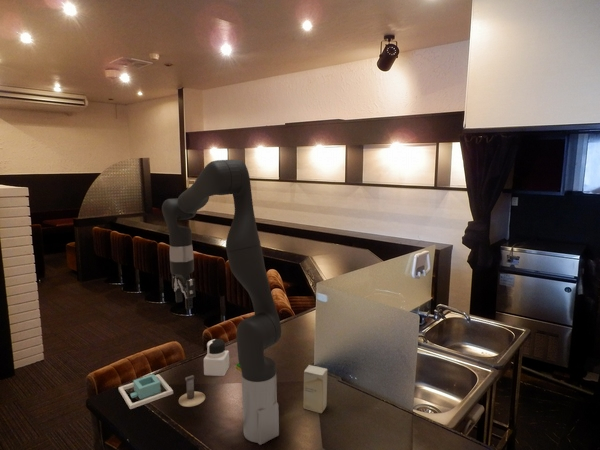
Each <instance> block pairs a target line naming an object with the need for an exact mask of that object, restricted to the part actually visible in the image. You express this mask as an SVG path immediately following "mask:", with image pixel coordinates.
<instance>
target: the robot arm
mask: <svg viewBox="0 0 600 450" xmlns="http://www.w3.org/2000/svg"><path fill="white" fill-rule="evenodd" d="M251 184H252V183H251V179H250V173H249V169H248V167H247V165H246V163H245V162H244V161H243V160H240V159H218V160H213V161H210V162H209V163H207V164H206V165H205V166H204V168H203V169H202V170H201V172H200V173H199V175H198V176H197V177H196V179H195V181H194V182H193V183H192V185H190V186H189V187H187V189H185V190H184V191H183V192H182V193H181V194H180V195H178V198H176V197H175V198H167V199H166V200H164V201H163V203H162V205H161V213H162V216H163V219H164V222H165V223H166V227H167V232H168V234H169V235H168V237H169V266H170V267H169V268H170V274H171V288H172V290H173V291H174V293H175V302H176V303H182V302H183V300H184V299H183V295H184V298H185V300H184V304H185V309H186V310H191V309H193V307H194V304H193V302H194V301H193V300H194V299H193V298H196V296H197V294H196V282H195V281H196V280H195V278H191V276H190V275H191V273H193V272H194V271H195V264H194V263H195V262H194V250H193V249H194V248H193V239H192V238H193V237H192V236H193V235H192V229H191V228H190V227H188V226H185V225H184V226H183V225H179V224H178V221H180V220H190V219H192V218H194V217H195V216H196V215H197V212H198V211H199V210H201V209H202V208H204V207H205V206H206V205H207V204H208V202H209V200H210V197H213V196H228V195H232V198H233V205H234V214H233V218H232V222H231V226H230V227H229V230H228V233H227V238H226V241H225V250H226V255H227V261H228V265H229V268H230V271H231V273H232V274H233V276H234V277H235V279H236V280H237V281H238V282H239V283H240V284H241V286H242V287H243V288H244V289H245V290H246V291H247V293H248V295H249V297H250V300H251V303H252V307H253V313H254V314H253V315H252V316H250V317H247V318H246V317H245V318H244V319H243V320H241V321H240V322H239V323H238V325H237V326H236V327H237V328H236V347H237V359H238V363H239V364H240V367H241V370H242V372H241V387H242V388H241V392H242V393H241V395H242V397H241V398H242V423H243V425H242V428H243V436H244V438H245V439H246V440H247V441H249V442H252V443H257V444H258V445H259V446H262V444H266V443H267V442H268V441H270V440H272V439H275V438H276V437H279V436H280V426H279V424H280V420H279V419H280V418H279V416H280V415H279V414H280V413H279V409H280V408H279V402H278V400H277V394H278V393H277V364H276V362H275V360H274V359H273V358H272V357H269V356H266V355H265V353H264V350H266V349H268V348H270V347H272V346H274V345H276V344H277V343H278V342H279V341H280V339H281V337H282V326H281V325H282V323H281V320H280V317H279V314H278V311H277V307H276V304H275V300H274V298H273V294H272V291H271V287H270V283H269V280H268V275H267V271H266V266H265V259H264V253H263V250H262V245H261V240H260V236H259V232H258V227H257V223H256V218H255V217H256V216H255V211H254V204H253V203H254V202H253V194H252V185H251Z"/></svg>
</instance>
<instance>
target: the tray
mask: <svg viewBox="0 0 600 450" xmlns="http://www.w3.org/2000/svg"><path fill="white" fill-rule="evenodd" d="M154 375H155V374H154ZM155 376H156V378H157V379H158V380H159V381H160V385H161V386H162V387H163V389H165V391H163V392H160V393H157V394H154V395H151V396H149V397H146V398H143V399H139V400H138V401H135V402H132V400H131V399H130V397H129V396H128V395H129V394H127V392H126V391H125V390H130V389H132V388H134V383H133V382H131V383H127V384H124V385H121V386H118V392H119V393H120V395H121V396H122V398H123V399H124V401H125V403H126V405H127V407H128V408H129V409H130V410H132V409H136V408H137V407H141V406H143V405H146V404H149V403H151V402H154V401H157V400H159V399H162V398H165V397H168V396H171V395H174V390H173V389H172V387H171V386H169V384H168V383H167V381H166V380H165V379H164V378H163V377H162V376H161V375H160V374H156V375H155Z"/></svg>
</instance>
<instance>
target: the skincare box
mask: <svg viewBox="0 0 600 450" xmlns="http://www.w3.org/2000/svg"><path fill="white" fill-rule="evenodd" d="M327 391H328V368H325V367H321V366H316V365H312V364H308V366H307V367H306V368H304V371H303V401H302V402H303V403H302V404H303V407H302V408H303V409H304V410H308V411H311V412H314V413H319V414H323V412H324V411H325V409H326V408H327V397H328V394H327V393H328V392H327Z"/></svg>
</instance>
